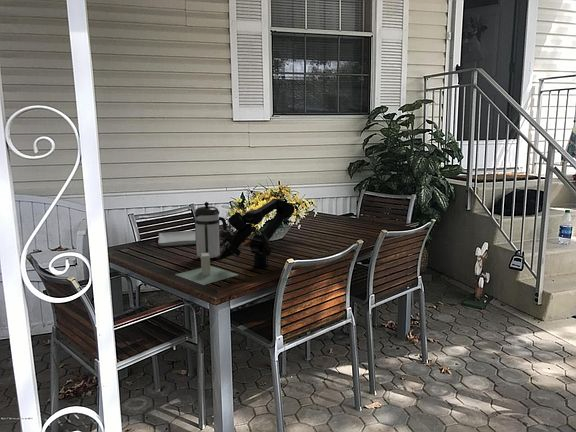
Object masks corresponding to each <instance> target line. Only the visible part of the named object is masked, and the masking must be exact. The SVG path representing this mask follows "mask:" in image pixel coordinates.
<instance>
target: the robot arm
mask: <svg viewBox="0 0 576 432" xmlns="http://www.w3.org/2000/svg"><path fill="white" fill-rule="evenodd" d="M274 211H275V215H274V216H273V218H272V219H271V220H270V222H269V223H268V224H267V225H266V227H265V228H264V229H263V230H262V232H261V233H260V234H257V227H256V226H255V225H257V226H258V225H259V224H260V223H261V222H262V221H263V219H264V217H266V216H267V215H269V214H270V213H271V212H274ZM294 213H295V207H294V204H293V203H289V202H287V201H284V200H283V199H280V198H272V199H271V200H270V201H268V202H266V203H264V204H263V205H261V206H260V207H258V208H256V209H251V210H249V211H245V213H244V214H241V213H240V212H239V211H235V213H234V214H232V215H231V216H230V217H229V218H228V221H227V222H228V224H229V225H230V226H232V228H234V229H235V230H236V231H233V232H231V231H229V230H227V231H225V230H223V228H222V229H220V234H219V236H220V239H221V240H222V241H224V242H225V244H224V243H223V249H221V251H220V252H221V254H220V255H219V257H217V259H218V260H219V261H221V260H224V259H226V258H229V257H231V256H234V255H235V256H236V257H239V256H240V255H242V254H241V253H242V251H241V249H240V247H241V246H240V245H241V244H242V243H243V242H244V243H245V242H246V241H245V240H246V239H247V238H248V239H249V236H250V235H252V233H254V235H253V237H251V238H250V239H251V240H252V241H251V242H250V245H249V249H250V251H251V254H254V258H253V264H252V266H253V267H256V268H259V269H264V268H267V267H271V264H270V263H269V255H271V254H272V249H271V247H270V240H271V238H272V237H273V235H274V234H275V233H276V232H277V230H278V228H279V227H280V226H281V224H283V222H284V221H285V220H287V219H288V218H290V217H291V216H292V215H293V214H294ZM252 225H253V226H252Z"/></svg>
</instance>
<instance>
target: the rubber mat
mask: <svg viewBox="0 0 576 432" xmlns="http://www.w3.org/2000/svg"><path fill="white" fill-rule="evenodd" d="M210 274H211V275H202V272H201V267H200V268H195V269H191V270H187V271H184V272H180V273H175V274H174V275H175V276H178V277H180V278H183V279H186V280H189V281H191V282H194V283H197V284H200V285H202V286H205V285H208V284H212V283H215V282H219V281H222V280H225V279H229V278H233V277H236V276H239V274H238V273H235V272H232V271H229V270H226V269H222V268H219V267H216V266H212V265H210Z"/></svg>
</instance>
